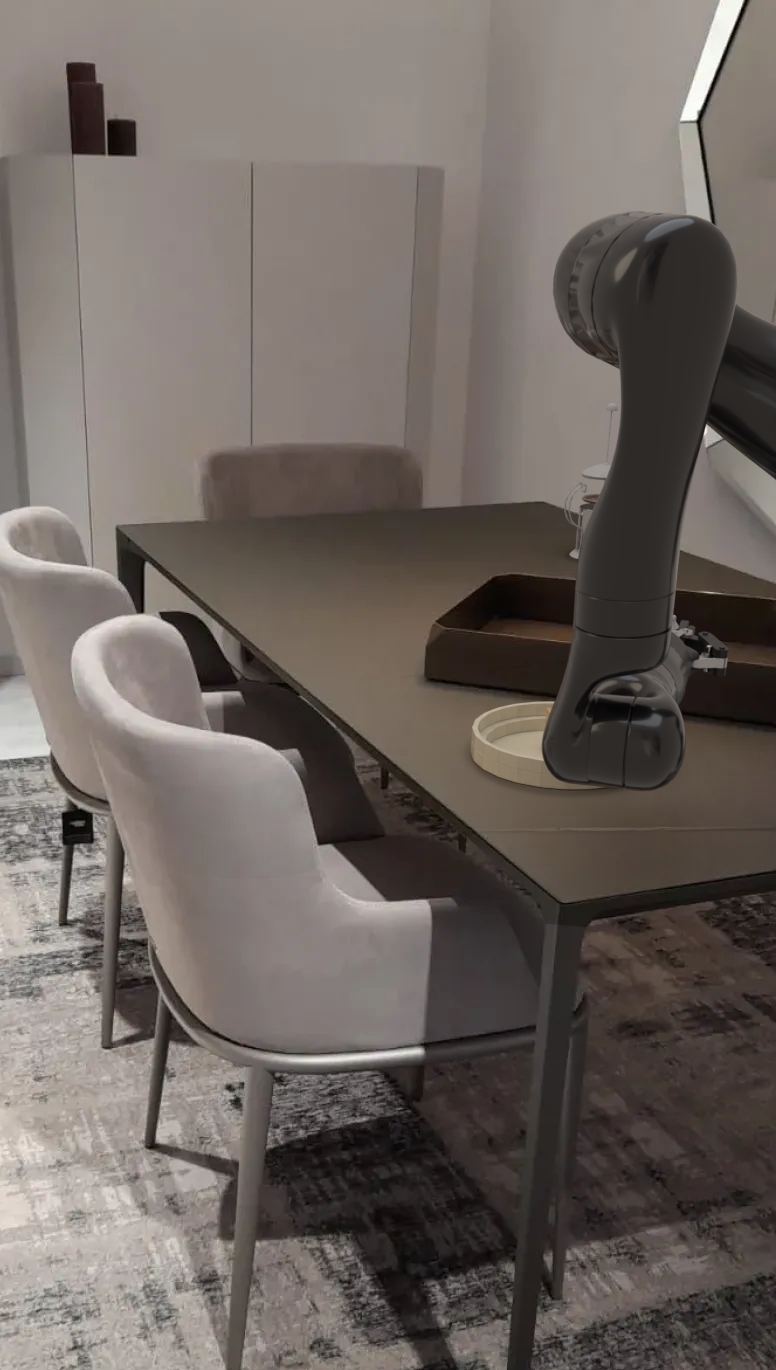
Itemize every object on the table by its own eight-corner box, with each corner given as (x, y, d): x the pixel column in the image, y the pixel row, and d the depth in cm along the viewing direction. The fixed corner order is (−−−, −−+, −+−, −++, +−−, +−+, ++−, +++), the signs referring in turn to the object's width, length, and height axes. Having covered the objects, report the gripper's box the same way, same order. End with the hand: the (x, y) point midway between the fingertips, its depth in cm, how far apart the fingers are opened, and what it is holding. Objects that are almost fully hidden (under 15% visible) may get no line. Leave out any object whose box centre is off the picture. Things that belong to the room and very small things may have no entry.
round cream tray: (627, 729, 158) (630, 700, 157) (670, 793, 141) (674, 761, 140) (461, 731, 158) (462, 702, 157) (483, 794, 141) (485, 763, 140)
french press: (637, 559, 233) (654, 405, 222) (574, 564, 231) (588, 408, 220) (611, 547, 242) (625, 398, 231) (550, 551, 239) (562, 401, 228)
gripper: (732, 644, 114) (745, 596, 128) (562, 629, 118) (593, 584, 133) (720, 730, 117) (733, 673, 131) (554, 712, 121) (585, 659, 136)
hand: (662, 629), depth 132 cm, fingers closed on rook chess piece, 3 cm apart
